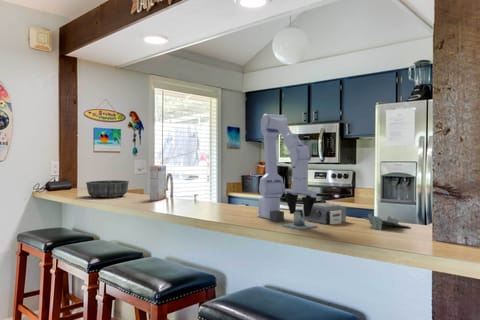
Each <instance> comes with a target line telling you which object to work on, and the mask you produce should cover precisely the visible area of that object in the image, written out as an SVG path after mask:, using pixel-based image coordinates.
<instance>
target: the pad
mask: <svg viewBox="0 0 480 320" xmlns="http://www.w3.org/2000/svg"><path fill="white" fill-rule="evenodd" d="M282 227H285V228H291V229H294V228H295V229H294V230H298V229H299V231H300V229H302V230H307V229H308V228H309V229H314V228H315V229H316V228H318V225H316V224H311V223H306V222H305V225H304V226H295V225H294V222H290V223H283V224H282Z"/></svg>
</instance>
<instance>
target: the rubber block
mask: <svg viewBox="0 0 480 320" xmlns="http://www.w3.org/2000/svg"><path fill="white" fill-rule="evenodd" d="M284 221H285V212H284V211H283V210H280V211H278V210H277V211H270V219H269V222H273V223H280V222H284Z"/></svg>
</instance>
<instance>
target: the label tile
mask: <svg viewBox="0 0 480 320" xmlns="http://www.w3.org/2000/svg"><path fill="white" fill-rule="evenodd" d="M330 224H331V225H332V224H333V225H338V224H342V222H341V210H339V211H330ZM330 224H329V225H330Z"/></svg>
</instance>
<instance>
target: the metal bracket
mask: <svg viewBox="0 0 480 320" xmlns="http://www.w3.org/2000/svg"><path fill="white" fill-rule="evenodd" d="M363 219H364V220H366V221H368V223H371V228H370V230H372V229H373V230H379V231H381V230H382V226H384V225H385V226H393V227H399V228H400V227H401V228H408V229H411V226H409V225H403V224H400V223H399V219H397V218H393V217H391V216H390V215H388V216H387V218H386V219H387V220H384V219H382V218H380V217H378V215H377V216H376V215H372V214H370V213H368V215H367V217H363Z"/></svg>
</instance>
